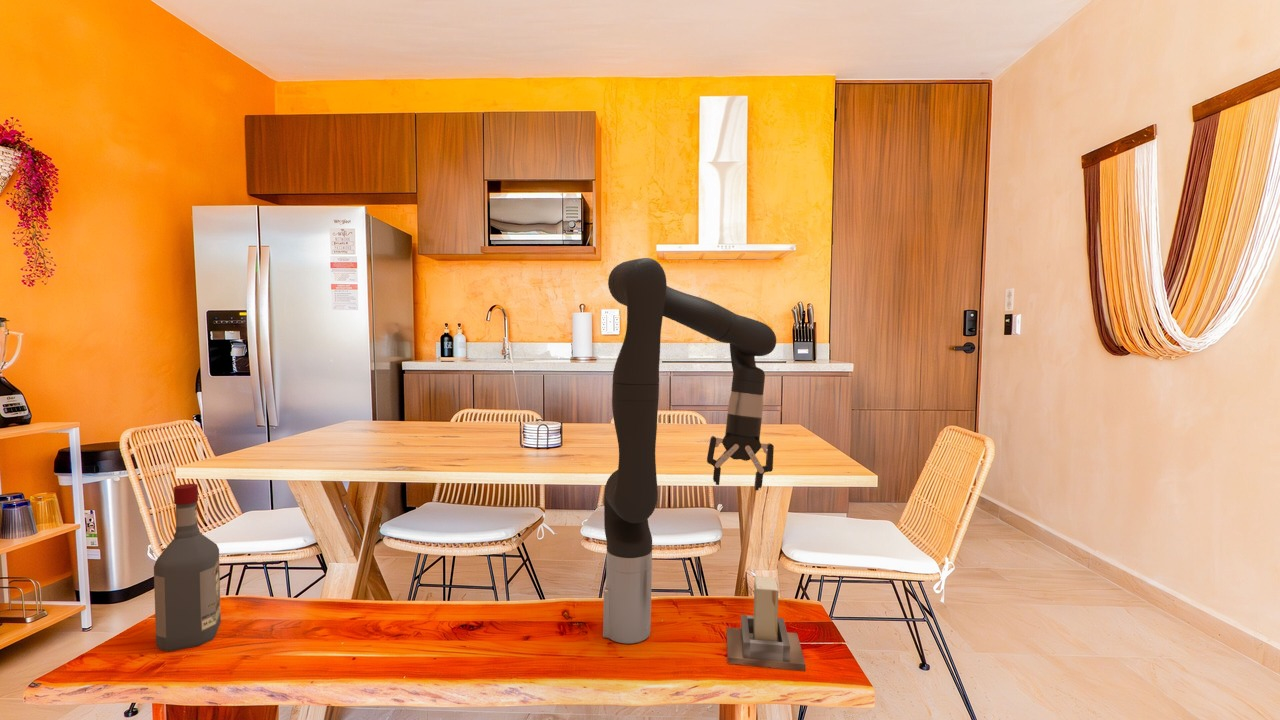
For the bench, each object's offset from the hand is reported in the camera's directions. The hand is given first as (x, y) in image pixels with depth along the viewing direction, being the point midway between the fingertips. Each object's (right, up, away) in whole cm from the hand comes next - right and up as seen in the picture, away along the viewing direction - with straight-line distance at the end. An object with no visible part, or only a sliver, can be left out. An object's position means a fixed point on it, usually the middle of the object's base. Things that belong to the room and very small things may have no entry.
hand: (736, 487), depth 127 cm
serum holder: (+3, -28, -15) cm, 32 cm away
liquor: (-109, -26, -14) cm, 113 cm away
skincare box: (+3, -27, -15) cm, 31 cm away
